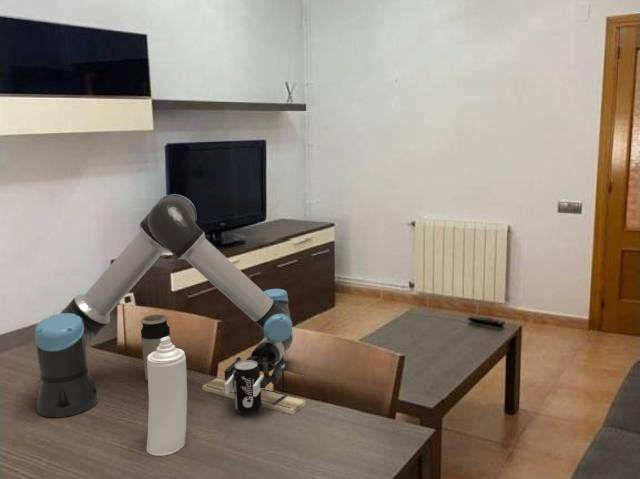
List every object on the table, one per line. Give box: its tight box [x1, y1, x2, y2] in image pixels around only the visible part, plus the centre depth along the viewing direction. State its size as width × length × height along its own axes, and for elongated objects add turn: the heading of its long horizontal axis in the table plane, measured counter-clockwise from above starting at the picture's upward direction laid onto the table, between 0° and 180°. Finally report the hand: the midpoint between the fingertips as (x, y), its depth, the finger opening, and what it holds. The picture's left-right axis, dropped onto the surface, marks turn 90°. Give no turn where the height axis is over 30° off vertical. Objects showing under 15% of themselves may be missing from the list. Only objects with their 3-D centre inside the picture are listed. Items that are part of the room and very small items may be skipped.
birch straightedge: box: [201, 377, 307, 415], centre depth 165 cm, size 6×30×1 cm, turn 58°
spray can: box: [146, 336, 188, 457], centre depth 141 cm, size 12×11×25 cm
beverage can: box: [233, 359, 262, 415], centre depth 155 cm, size 7×7×12 cm
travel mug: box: [140, 314, 172, 382], centre depth 178 cm, size 8×8×18 cm
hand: (240, 390), depth 150 cm, fingers closed on beverage can, 6 cm apart
